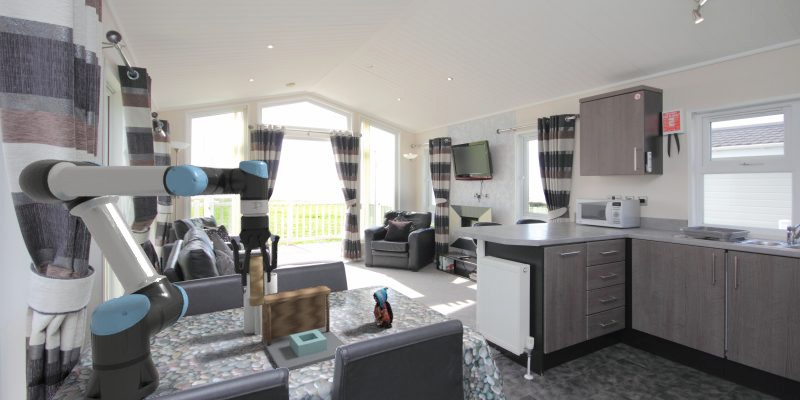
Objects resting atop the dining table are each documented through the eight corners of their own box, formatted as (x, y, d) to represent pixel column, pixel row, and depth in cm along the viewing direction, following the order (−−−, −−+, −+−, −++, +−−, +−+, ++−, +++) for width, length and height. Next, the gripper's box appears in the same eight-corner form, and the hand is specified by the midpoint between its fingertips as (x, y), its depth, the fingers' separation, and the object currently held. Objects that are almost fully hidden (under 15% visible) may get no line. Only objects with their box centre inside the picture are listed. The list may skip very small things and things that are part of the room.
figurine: (367, 323, 136) (367, 284, 136) (383, 319, 140) (383, 282, 140) (379, 332, 128) (380, 291, 127) (396, 328, 132) (396, 288, 131)
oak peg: (250, 307, 101) (249, 258, 100) (248, 303, 104) (247, 255, 103) (265, 304, 103) (264, 256, 102) (262, 301, 106) (261, 254, 105)
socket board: (280, 373, 100) (280, 357, 100) (261, 341, 120) (261, 328, 120) (351, 353, 112) (351, 339, 112) (323, 327, 132) (323, 315, 132)
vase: (274, 323, 136) (274, 271, 135) (279, 330, 130) (279, 275, 129) (242, 330, 129) (242, 275, 129) (246, 337, 123) (246, 280, 123)
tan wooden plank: (266, 349, 114) (266, 300, 114) (262, 342, 120) (261, 295, 119) (331, 334, 126) (331, 289, 126) (324, 328, 132) (324, 285, 131)
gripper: (223, 217, 95) (225, 304, 96) (288, 214, 104) (289, 293, 105) (220, 215, 101) (222, 297, 102) (281, 212, 110) (283, 287, 111)
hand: (256, 295), depth 103 cm, fingers closed on oak peg, 4 cm apart
